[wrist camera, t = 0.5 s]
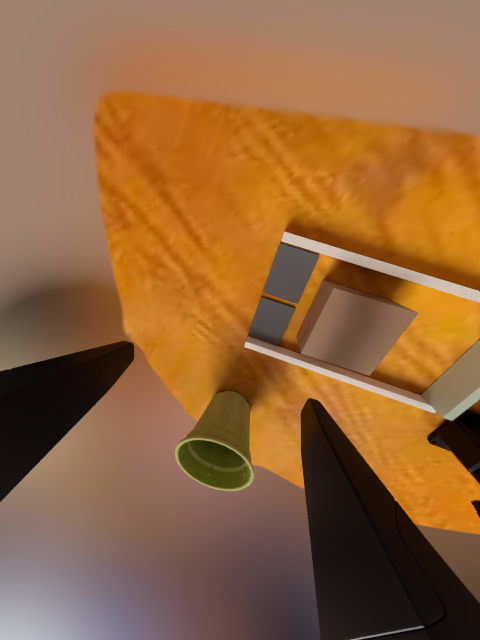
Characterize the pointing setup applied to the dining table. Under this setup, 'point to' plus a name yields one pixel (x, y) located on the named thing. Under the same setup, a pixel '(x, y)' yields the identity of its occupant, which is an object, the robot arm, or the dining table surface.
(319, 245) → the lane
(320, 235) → the dining table surface
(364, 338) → the walnut block
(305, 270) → the pads
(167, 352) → the dining table surface
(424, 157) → the dining table surface
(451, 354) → the dining table surface
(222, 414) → the plant pot
